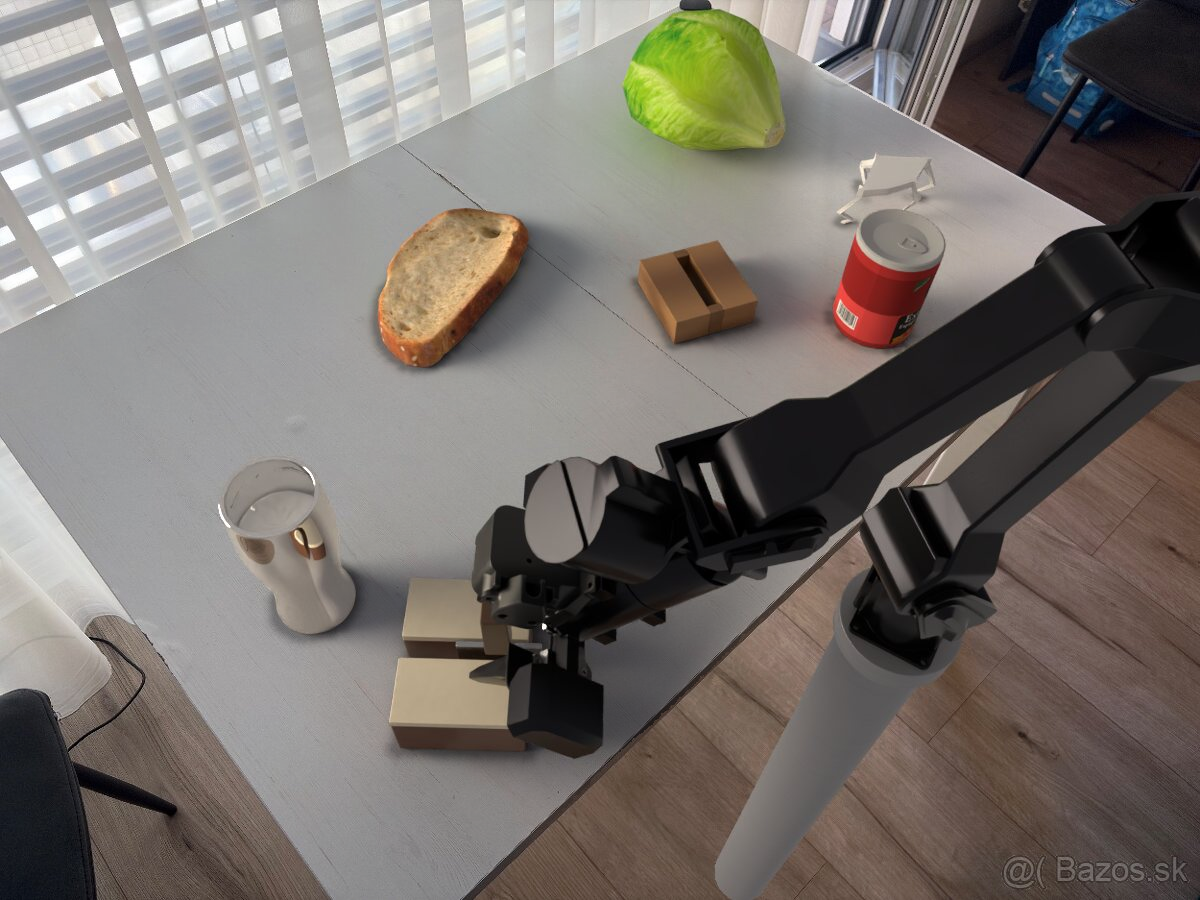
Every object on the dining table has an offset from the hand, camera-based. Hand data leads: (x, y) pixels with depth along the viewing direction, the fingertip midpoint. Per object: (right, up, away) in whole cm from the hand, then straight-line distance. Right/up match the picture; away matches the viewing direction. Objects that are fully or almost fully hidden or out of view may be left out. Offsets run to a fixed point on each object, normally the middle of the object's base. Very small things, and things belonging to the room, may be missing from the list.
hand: (477, 638), depth 67 cm
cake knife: (+1, -4, +6) cm, 7 cm away
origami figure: (+38, +39, +39) cm, 67 cm away
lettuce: (+20, +49, +45) cm, 70 cm away
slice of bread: (-6, +29, +30) cm, 42 cm away
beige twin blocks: (-1, -4, +6) cm, 7 cm away
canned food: (+35, +26, +29) cm, 52 cm away
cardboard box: (+18, +28, +29) cm, 44 cm away
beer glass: (-14, +1, +9) cm, 17 cm away
